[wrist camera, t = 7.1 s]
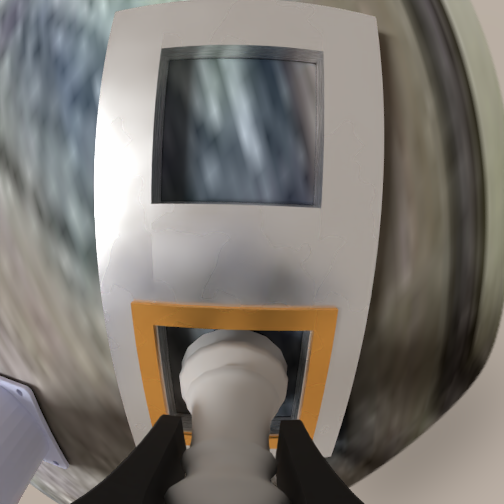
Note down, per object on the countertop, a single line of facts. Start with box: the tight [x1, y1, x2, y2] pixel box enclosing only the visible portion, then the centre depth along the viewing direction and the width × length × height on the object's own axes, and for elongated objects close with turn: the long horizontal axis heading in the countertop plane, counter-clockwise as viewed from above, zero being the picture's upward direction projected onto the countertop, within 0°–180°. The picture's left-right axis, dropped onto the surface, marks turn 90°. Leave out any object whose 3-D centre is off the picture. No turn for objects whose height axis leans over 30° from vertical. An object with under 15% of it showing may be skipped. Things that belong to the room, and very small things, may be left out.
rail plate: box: [94, 0, 384, 459], centre depth 11 cm, size 10×20×1 cm, turn 178°
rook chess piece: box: [164, 329, 292, 504], centre depth 8 cm, size 4×4×8 cm
